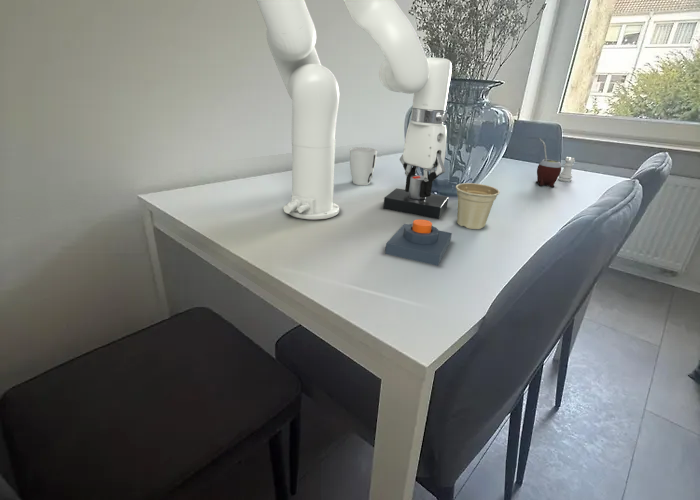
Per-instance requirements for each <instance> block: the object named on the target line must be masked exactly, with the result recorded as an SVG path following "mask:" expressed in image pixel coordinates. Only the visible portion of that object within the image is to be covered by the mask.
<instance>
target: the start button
mask: <svg viewBox="0 0 700 500" xmlns="http://www.w3.org/2000/svg"><path fill="white" fill-rule="evenodd" d="M412 223H413V227H412V231H415V232H417V233H431V228H432V226H433V223H432V221H430V220H427V219H421V218H419V219H414V220H413V221H412Z"/></svg>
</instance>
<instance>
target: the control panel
mask: <svg viewBox="0 0 700 500" xmlns="http://www.w3.org/2000/svg"><path fill="white" fill-rule="evenodd" d="M408 194H409V192H406V191H405V189H402V188H398V187H397V188H394V190H392V191H391V192H390V193H388V194H387V195H386V196H384V197H383V210H388V211H392V212H398V213H403V214H408V215H413V216H420V217H424V218H431V219H435V220H440V219H441V218H442V215H443V214H444V213H445V211H446V210H447V208H448V203H449V196H446V195H438V194H433V193H431V195H430V196H429V197H426V198H425V199H421V200H418V199H412V198H410V197H409V196H408Z"/></svg>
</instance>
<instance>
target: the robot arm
mask: <svg viewBox="0 0 700 500" xmlns="http://www.w3.org/2000/svg"><path fill="white" fill-rule="evenodd" d="M342 1H343V3H344V5H345V7H346V9H347V11H348V14H349V15H350V17H351V19H352V20H353V22H355V24H356V25H357V26H358V27H360V28H361V29H362V30H364V31H365V32H366V33H367V34H368V35H369V36H371V38H372V39H373V40H374V41H375V43H376V45H378V47H379V49H380V51H381V52H382V54H383V56H384V58H385V59H384V60H383V62H382V63H381V64H380V67H379V71H378V77H379V81H380V83H381V84H382V86H383V87H384V88H385V89H386V90H389V91H391V92H395V93H402V94H407V95H409V94H413V96H412V97H413V98H412V107H411V115H410V121H409V123H408V126H407V129H406V133H405V138H404V144H403V151H402V154H401V156H400V157H399V162H400V163H401V164H402V167H403V170H404V175H405V176H406V179H405V185H404V186H405V187H404V190H405V191H406V192H409V186H410V178H411V176H413V175H417V171H418V168H421V169H423V176H424V181H422V183H421V190H420V197H422V198H423V197H429V196H430V195H431V194H432V187H433V182H435V181H436V179H437V178H438V177H440V176H441V175H443V174H444V173H446V167H445V160H446V151H447V125H446V124H445V125H444V122H445V121H447V119H448V115H447V114H446V108H447V104H448V103H447V102H448V95H449V88H450V83H451V76H452V68H453V65H452V61H451V60H450V59H448V58H443V57H429V56H427V55H426V52H425V50H424V48H423V45H422V41H420V37H419V35H418V33H417V31H416V29H415V28H414V26H413V24H412V22H411V21H410V19H409V18H408V17H407V15H406V14H405V12H404V11H403V10H402V8H401V7H400V5H399V4H398V3H397V1H396V0H342ZM256 3H257V6H258V8H259V11H260V13H261V16H262V18H263V20H264V24H265V26H266V31H265V32H266V33H265V35H266V41H267V45H268V48H269V50H270V53H271V56H272V58H273V60H274V63H275V65H276V68H277V70H278V72H279V75H280V77H281V79H282V82H283V84H284V86H285V89H286V91H287V93H288V95H289V98H290V99H291V100H292V104H291V105H292V107H291V108H292V109H291V178H292V179H291V194H292V195H291V200H290V201H288V203H286V204H285V205H284V206H283V207H282V208H283V212H284V213H286V214H288V215H289V216H291V217H294V218H297V219H302V220H313V221H314V220H326V219H331V218H333V217H336V216H337V215H338V214H339V213H340V206H339V205H338V204H337V203H335V202H334V184H335V183H334V182H335V160H336V159H335V158H336V157H335V156H336V133H337V132H336V131H337V130H336V129H337V120H338V119H337V118H338V111H339V105H340V104H339V103H340V87H339V83H338V80H337V77H336V76H335V74H334V73H333V72H332V71H331V70H330V69H329V68H328V67H327V66H325V65H322V63H321V60H320V57H319V55H318V52H317V48H316V43H317V30H316V26H315V23H314V21H313V18H312V15H311V13H310V11H309V8H308V6H307V3H306V0H256Z"/></svg>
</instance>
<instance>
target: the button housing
mask: <svg viewBox="0 0 700 500" xmlns="http://www.w3.org/2000/svg"><path fill="white" fill-rule="evenodd" d="M412 227H413V222H411V223H403V225H401V226H400V227H399V229H398V230H396V232H395V233H394V234H393V235H392V236H391V237H390V239H389V240H388V241H387V242H386V243H385V250H384V253H385V255H389V256H394V257H398V258H402V259H408V260H410V261H415V262H420V263H424V264H428V265H433V266H437V267H438V266H439V265H440V263H441V261H442V260H443V257H444V255H445V253H446V252H447V250H448V248H449V246H450V243H451V240H452V235H453V233H452V232H448V231H445V230H439V229H438V228H437V227H436V226H433V225H432V228H431V233H417V232H415V231H412Z"/></svg>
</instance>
